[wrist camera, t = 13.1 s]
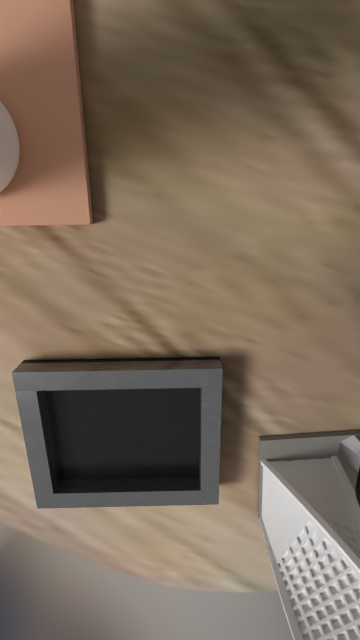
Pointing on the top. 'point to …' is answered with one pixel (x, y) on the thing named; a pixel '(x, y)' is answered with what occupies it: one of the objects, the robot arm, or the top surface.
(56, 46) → the terracotta tile
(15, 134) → the white cup
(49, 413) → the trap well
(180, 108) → the top surface
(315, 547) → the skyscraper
